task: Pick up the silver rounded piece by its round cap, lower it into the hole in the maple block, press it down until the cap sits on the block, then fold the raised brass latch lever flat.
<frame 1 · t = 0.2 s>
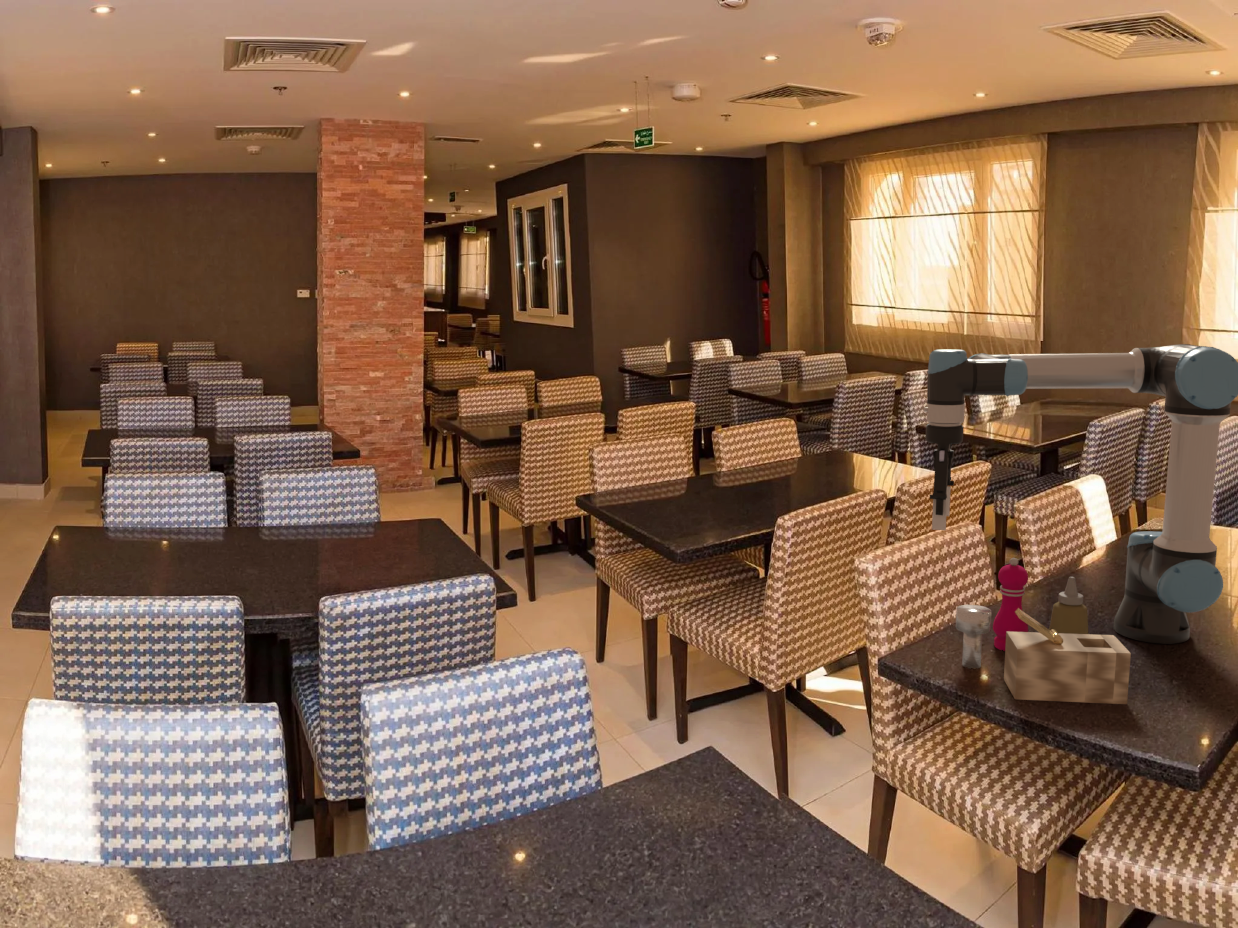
hand: (940, 522, 218), 28 cm above the table, tool pointing down, fingers open, 13 cm apart
maple block: (1063, 691, 197), on the table
brass latch: (1039, 625, 196), point 13 cm above the table, hinge at 35.0°
squeeze bottle: (1066, 661, 213), on the table
pepper mill: (1009, 648, 221), on the table
silver rounded piece: (971, 665, 211), on the table
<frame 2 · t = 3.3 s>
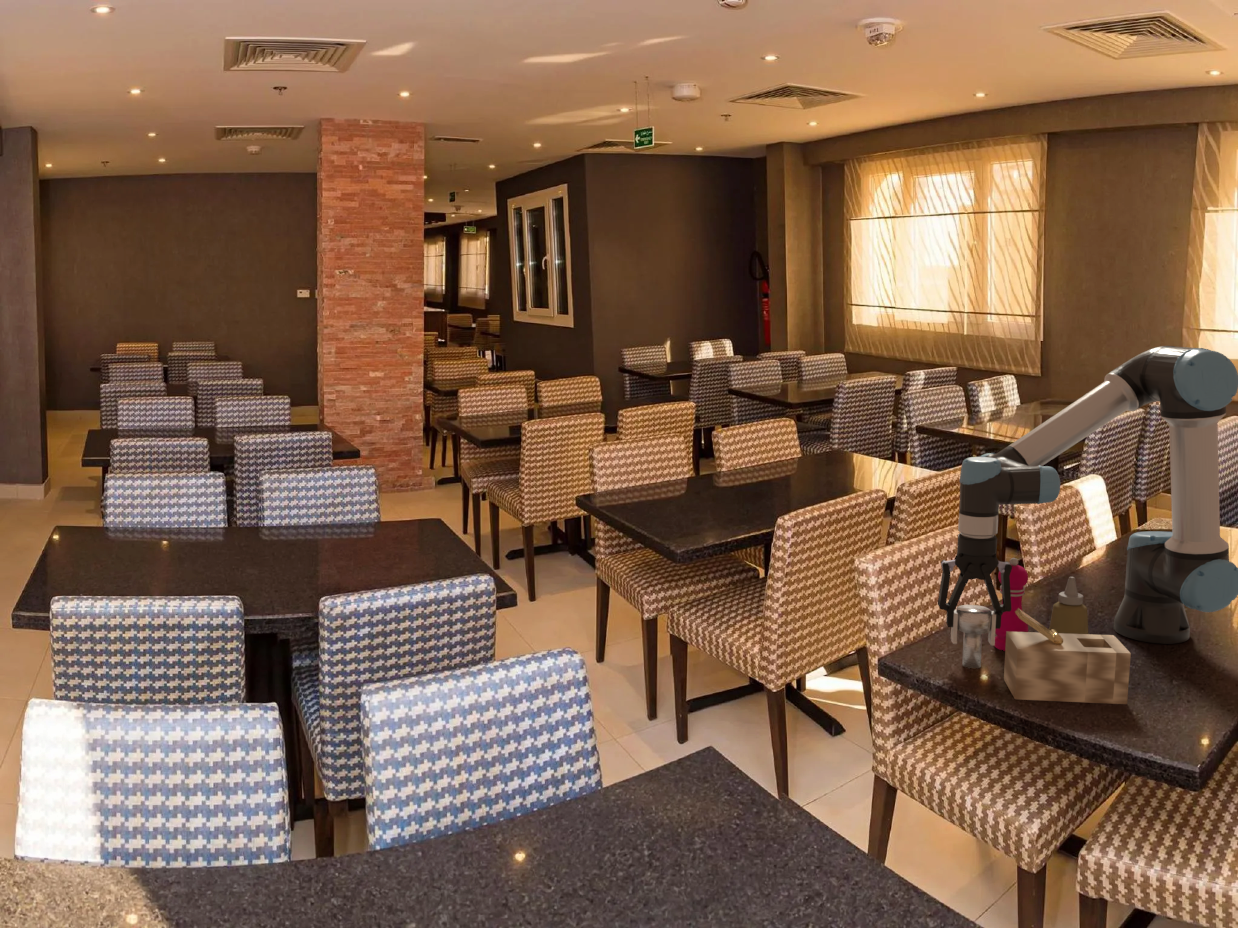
hand: (972, 642, 210), 5 cm above the table, tool pointing down, fingers closed on silver rounded piece, 7 cm apart
silver rounded piece: (971, 665, 211), on the table, touching gripper
everything else where it was.
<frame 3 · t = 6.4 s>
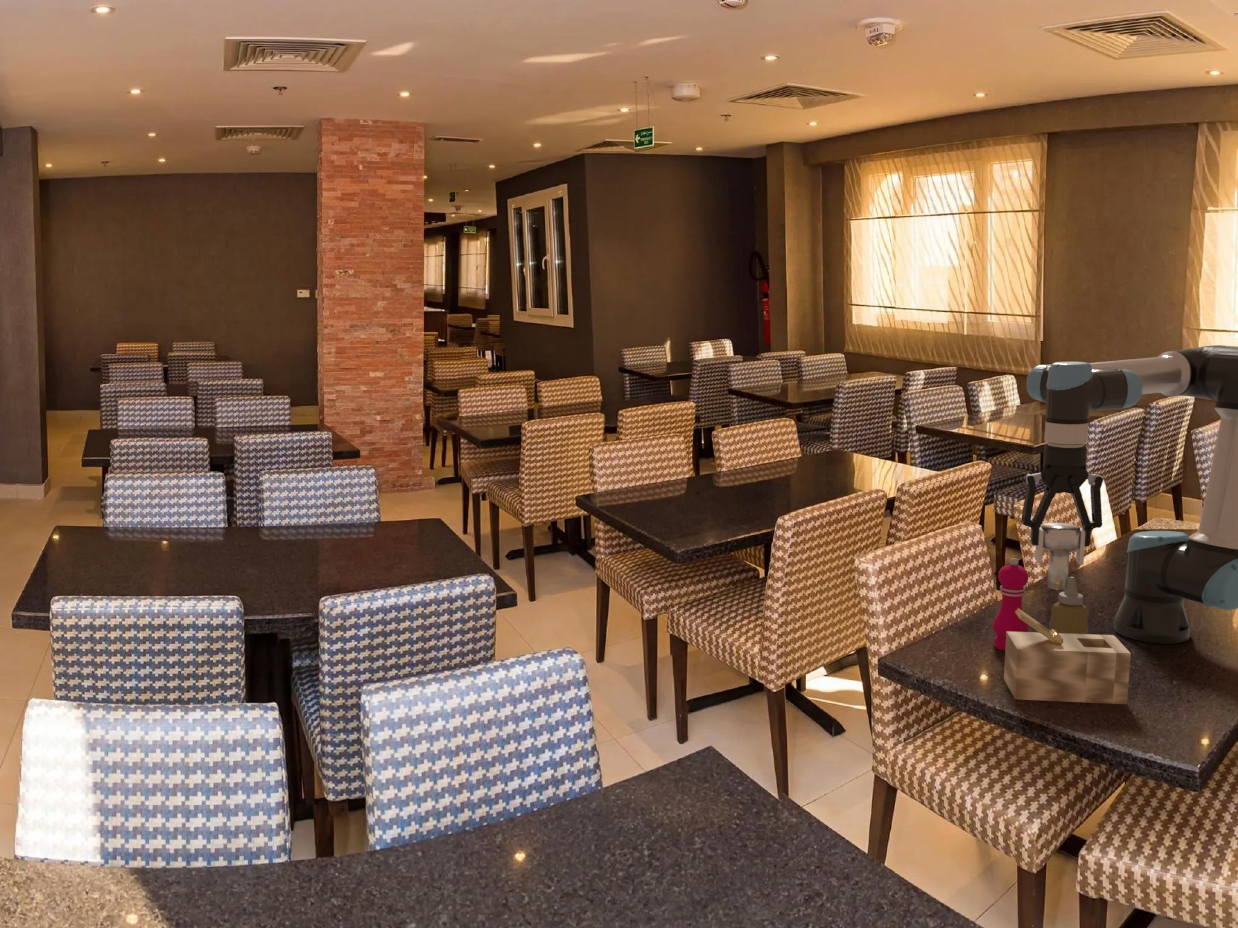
hand: (1058, 561, 197), 25 cm above the table, tool pointing down, fingers closed on silver rounded piece, 7 cm apart
silver rounded piece: (1057, 586, 198), point 20 cm above the table, touching gripper
everything else where it was.
when the fingers open (12 cm above the table, at t = 9.8 s): silver rounded piece drops 5 cm, resting on maple block.
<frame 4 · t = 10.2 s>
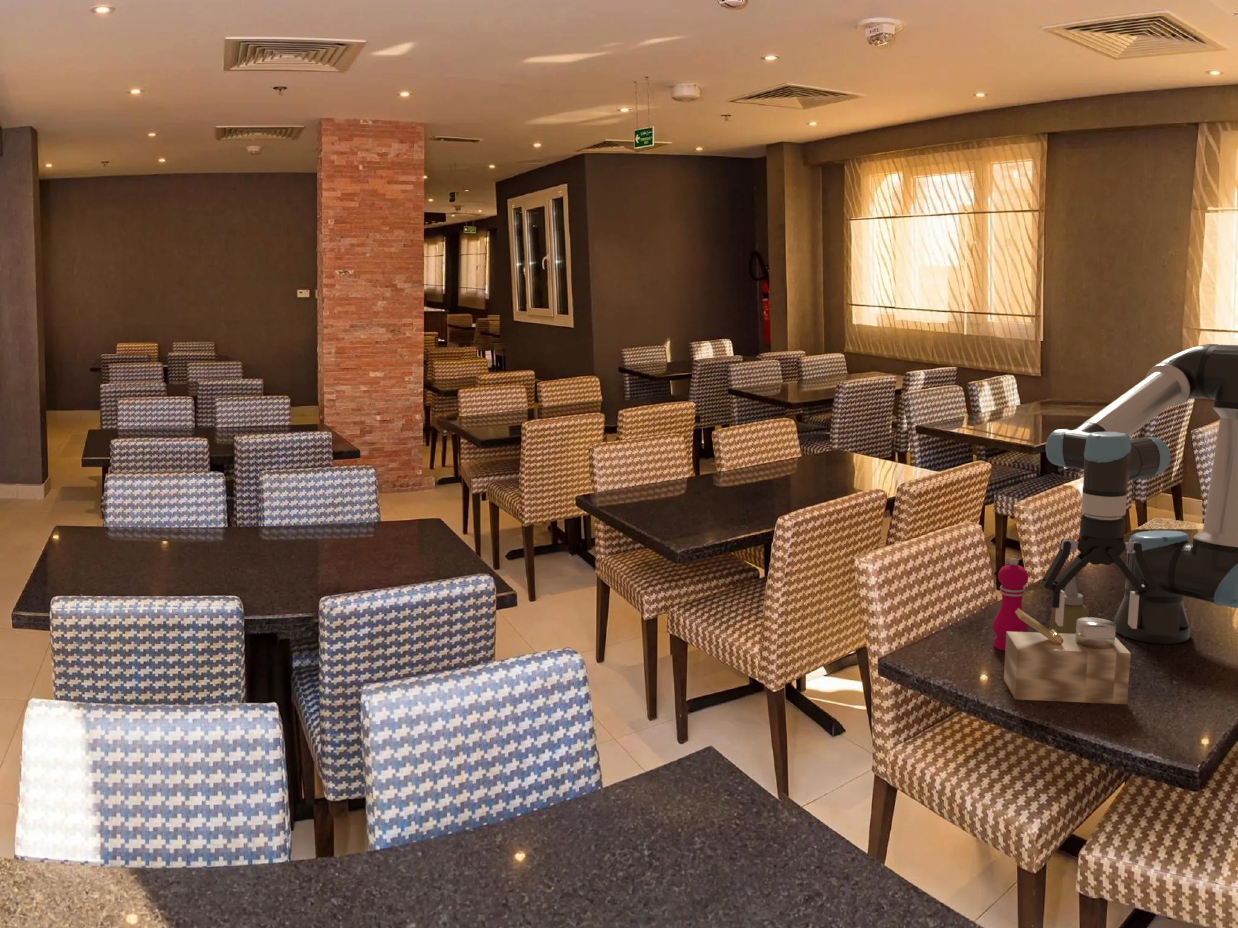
hand: (1095, 625, 194), 14 cm above the table, tool pointing down, fingers open, 12 cm apart
silver rounded piece: (1092, 682, 196), point 2 cm above the table, touching maple block
everything else where it was.
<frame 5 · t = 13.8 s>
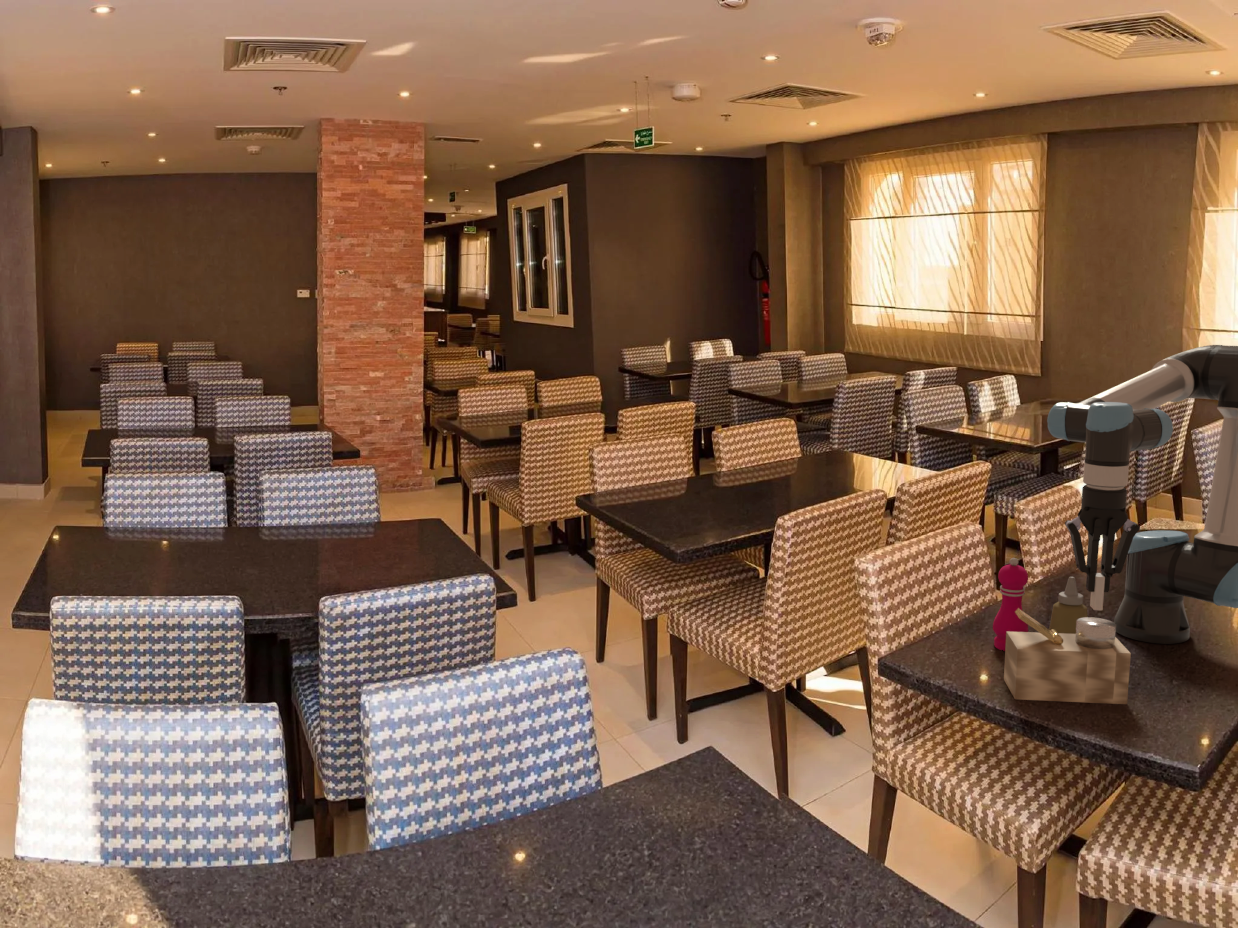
hand: (1096, 607, 193), 17 cm above the table, tool pointing down, fingers closed
nothing on the table moved.
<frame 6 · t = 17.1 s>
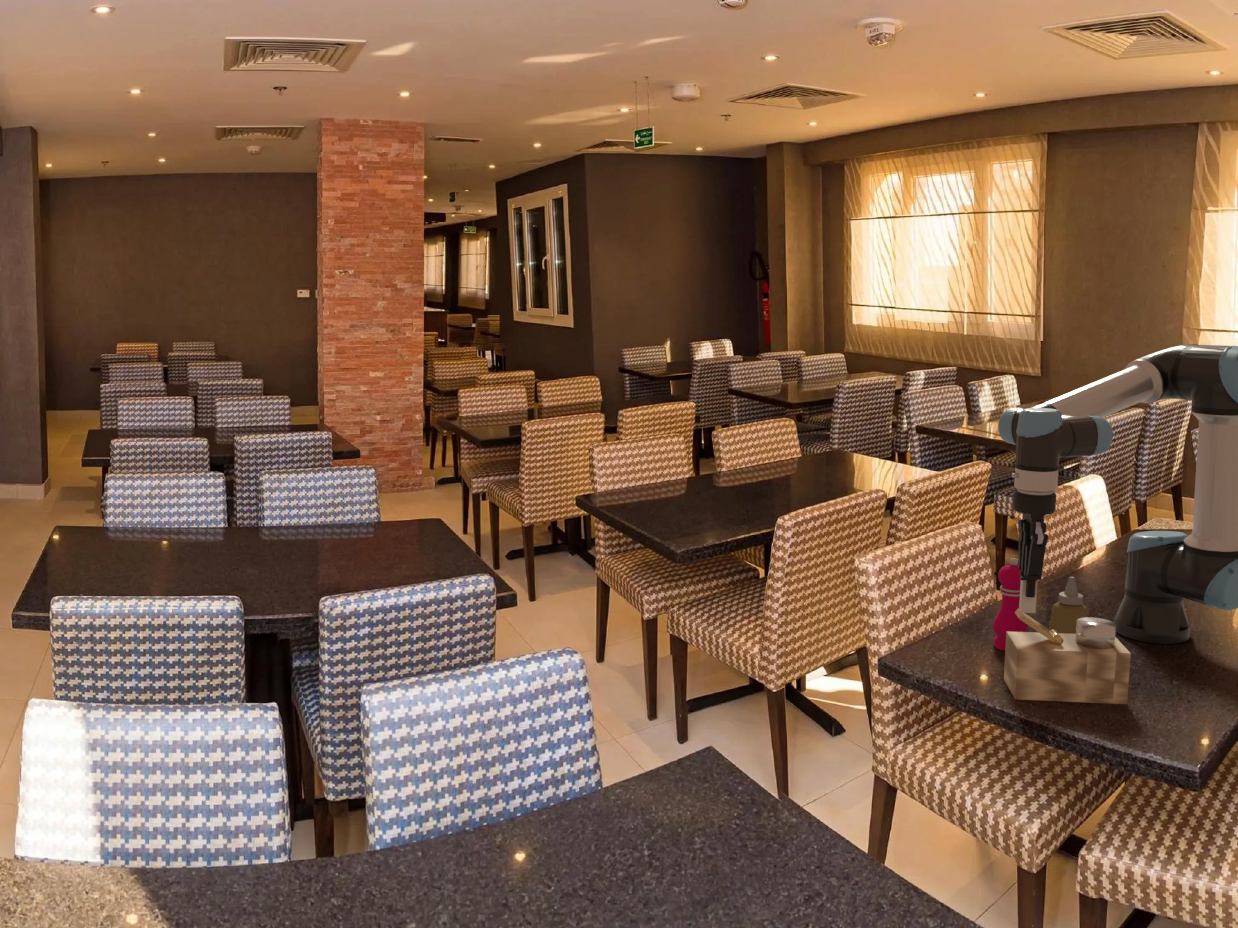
hand: (1027, 611, 196), 16 cm above the table, tool pointing down, fingers closed
brass latch: (1039, 625, 196), point 13 cm above the table, hinge at 34.4°, touching gripper
everything else where it was.
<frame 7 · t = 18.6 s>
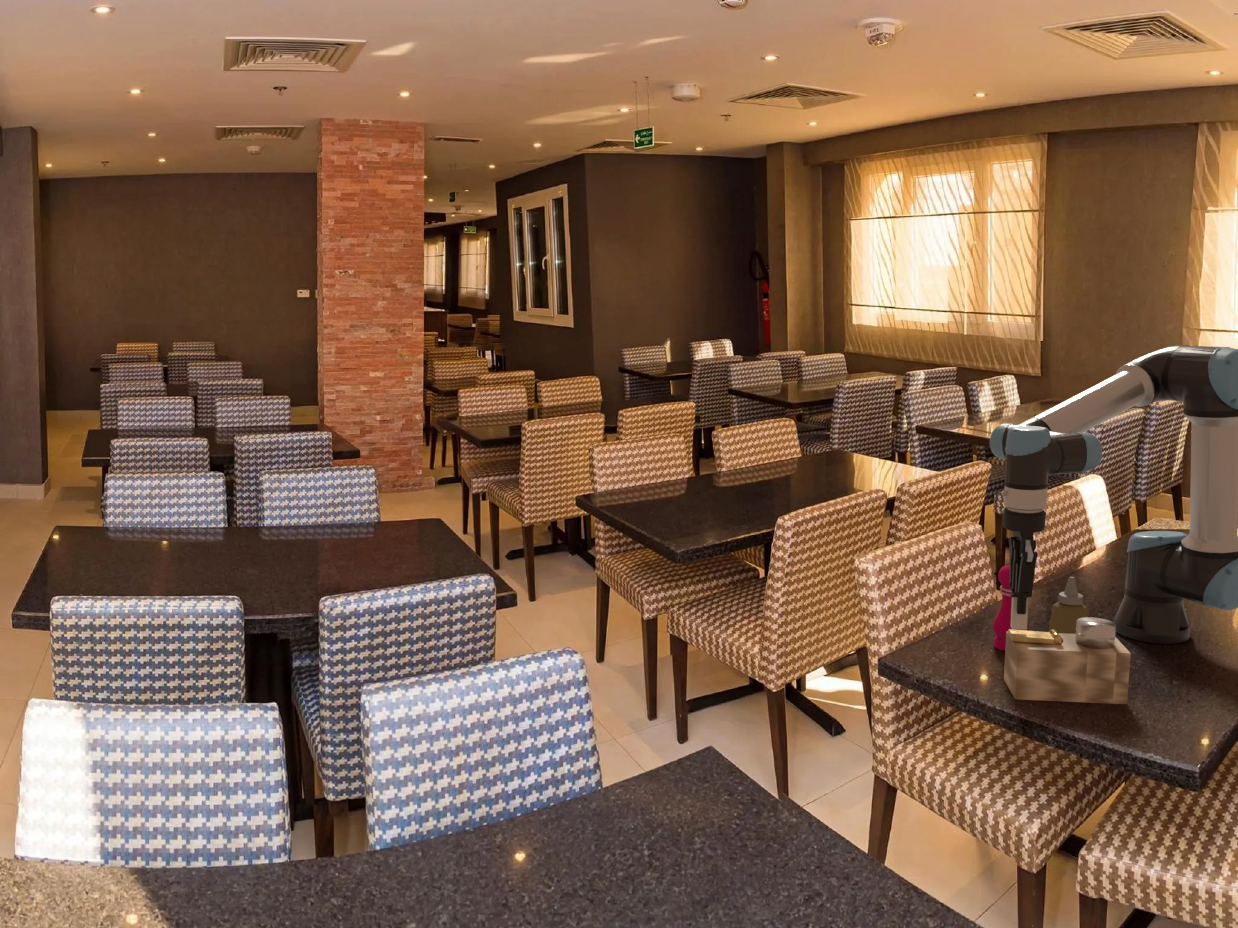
hand: (1018, 627, 197), 12 cm above the table, tool pointing down, fingers closed
brass latch: (1035, 635, 196), point 11 cm above the table, hinge at 2.7°
everything else where it was.
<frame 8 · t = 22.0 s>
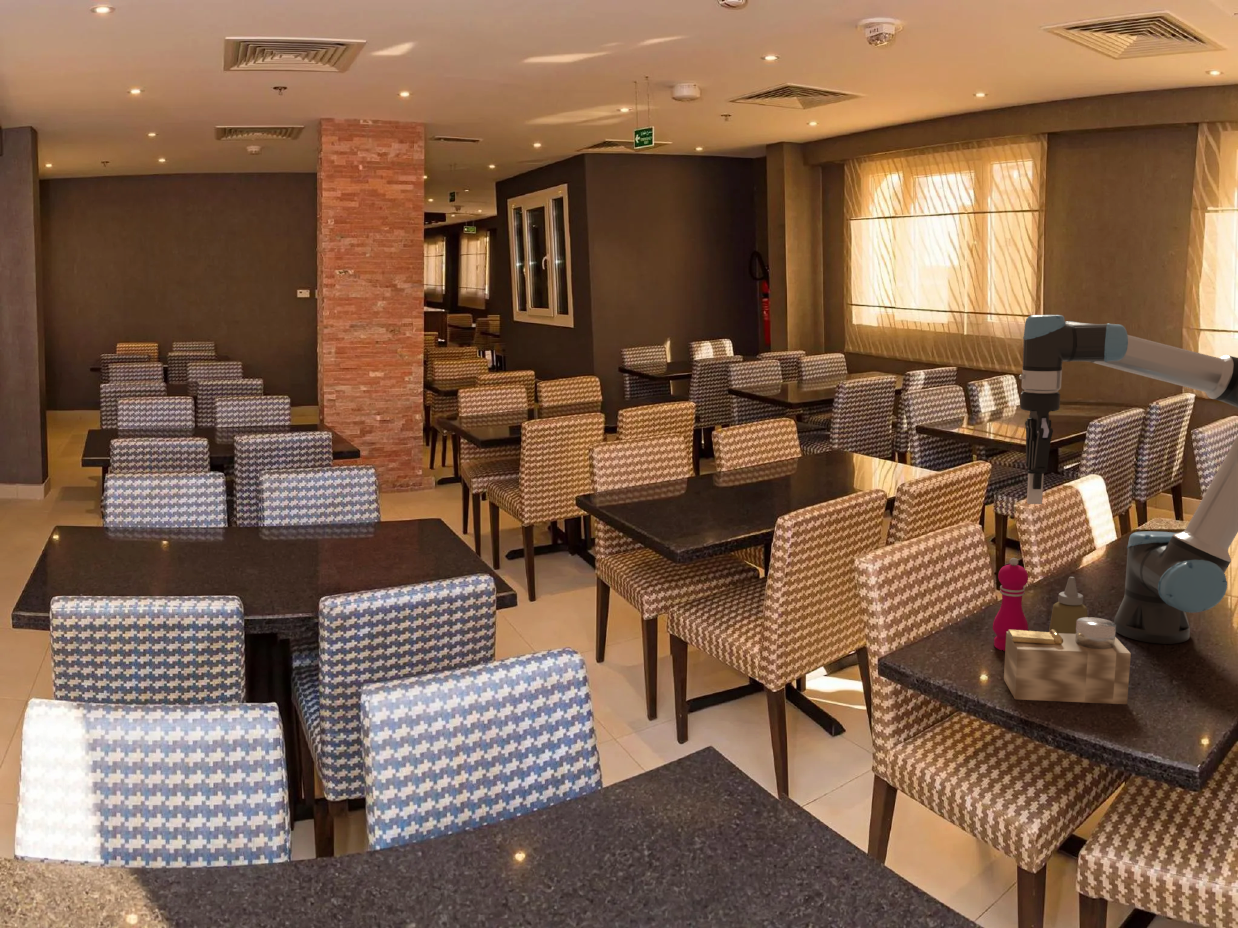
hand: (1034, 503, 213), 32 cm above the table, tool pointing down, fingers closed
brass latch: (1035, 635, 196), point 11 cm above the table, hinge at 2.3°
everything else where it was.
at the end: silver rounded piece 0.1 cm from the target spot on the maple block, point 2.0 cm above the maple block's base; silver rounded piece tilted 0°; brass latch at +2° (first picture: +35°) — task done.
